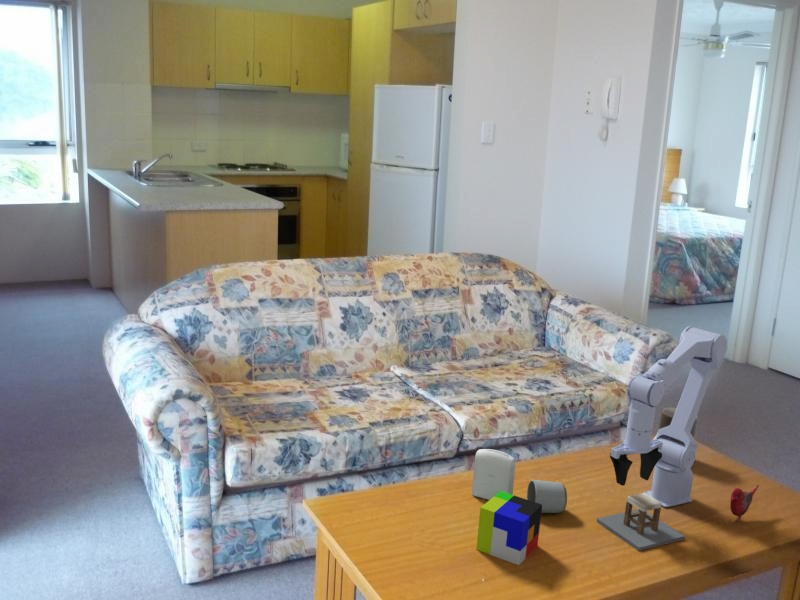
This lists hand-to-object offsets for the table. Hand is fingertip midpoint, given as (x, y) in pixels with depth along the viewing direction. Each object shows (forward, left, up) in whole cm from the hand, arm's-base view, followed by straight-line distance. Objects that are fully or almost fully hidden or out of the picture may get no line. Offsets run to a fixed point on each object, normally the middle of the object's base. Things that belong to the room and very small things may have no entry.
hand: (632, 481), depth 196 cm
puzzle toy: (+36, +1, -10) cm, 37 cm away
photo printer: (+26, -20, -10) cm, 34 cm away
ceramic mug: (+17, -11, -10) cm, 22 cm away
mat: (+2, +6, -9) cm, 11 cm away
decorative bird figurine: (-26, +11, -10) cm, 30 cm away
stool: (+2, +6, -9) cm, 11 cm away
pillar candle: (-37, -22, -10) cm, 44 cm away
